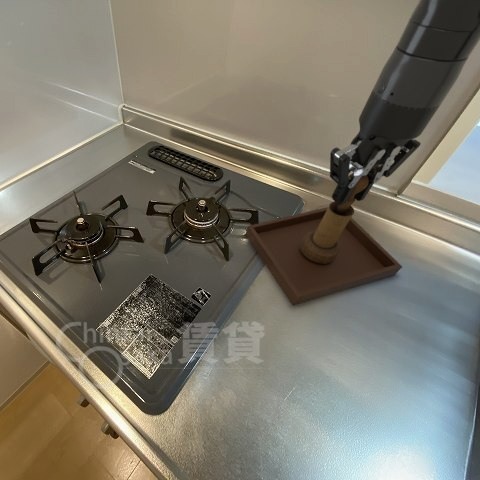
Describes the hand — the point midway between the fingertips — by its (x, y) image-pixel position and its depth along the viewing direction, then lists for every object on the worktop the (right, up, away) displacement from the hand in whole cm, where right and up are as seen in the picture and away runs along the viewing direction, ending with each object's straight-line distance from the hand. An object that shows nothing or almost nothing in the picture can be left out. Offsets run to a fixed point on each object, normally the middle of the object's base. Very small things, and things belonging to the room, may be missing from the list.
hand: (347, 199), depth 51 cm
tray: (0, -10, +11) cm, 15 cm away
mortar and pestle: (0, -9, +10) cm, 13 cm away
